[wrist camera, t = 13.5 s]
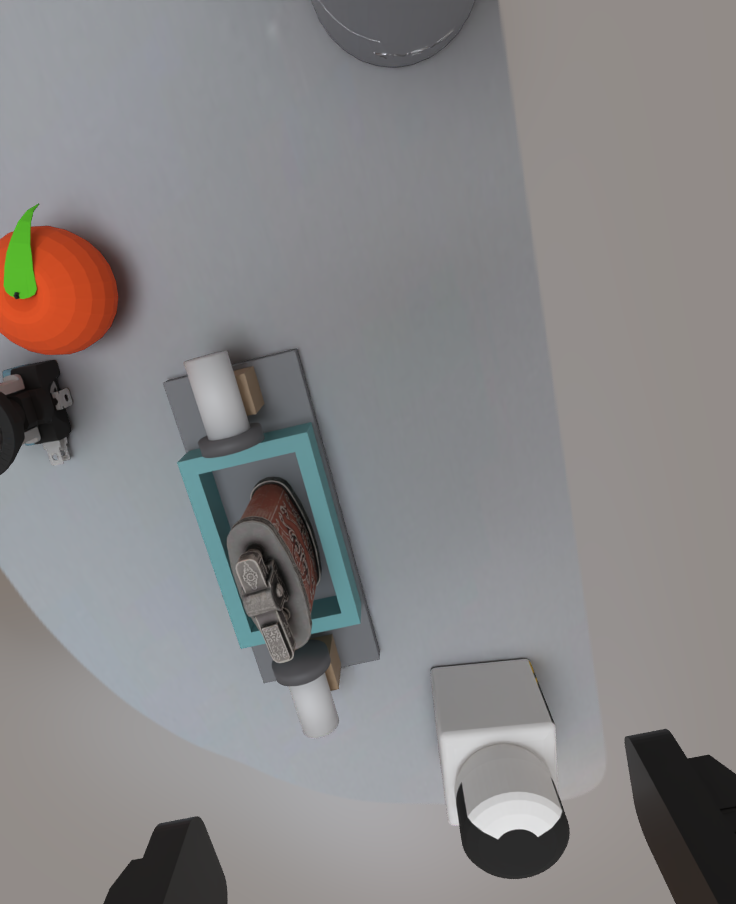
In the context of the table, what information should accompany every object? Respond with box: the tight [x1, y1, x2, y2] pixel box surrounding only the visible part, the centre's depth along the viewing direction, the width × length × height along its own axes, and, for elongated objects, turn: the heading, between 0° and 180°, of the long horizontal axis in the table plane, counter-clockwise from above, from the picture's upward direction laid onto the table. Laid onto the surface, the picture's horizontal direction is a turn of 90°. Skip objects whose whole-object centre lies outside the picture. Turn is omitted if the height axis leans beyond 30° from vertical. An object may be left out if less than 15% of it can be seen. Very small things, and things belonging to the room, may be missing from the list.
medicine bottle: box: [430, 659, 569, 879], centre depth 41 cm, size 7×7×12 cm
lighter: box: [227, 476, 322, 663], centre depth 37 cm, size 8×3×10 cm, turn 18°
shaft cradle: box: [163, 349, 380, 739], centre depth 39 cm, size 24×8×7 cm, turn 14°
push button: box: [0, 360, 72, 475], centre depth 36 cm, size 7×5×10 cm
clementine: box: [0, 204, 118, 355], centre depth 35 cm, size 8×7×7 cm
